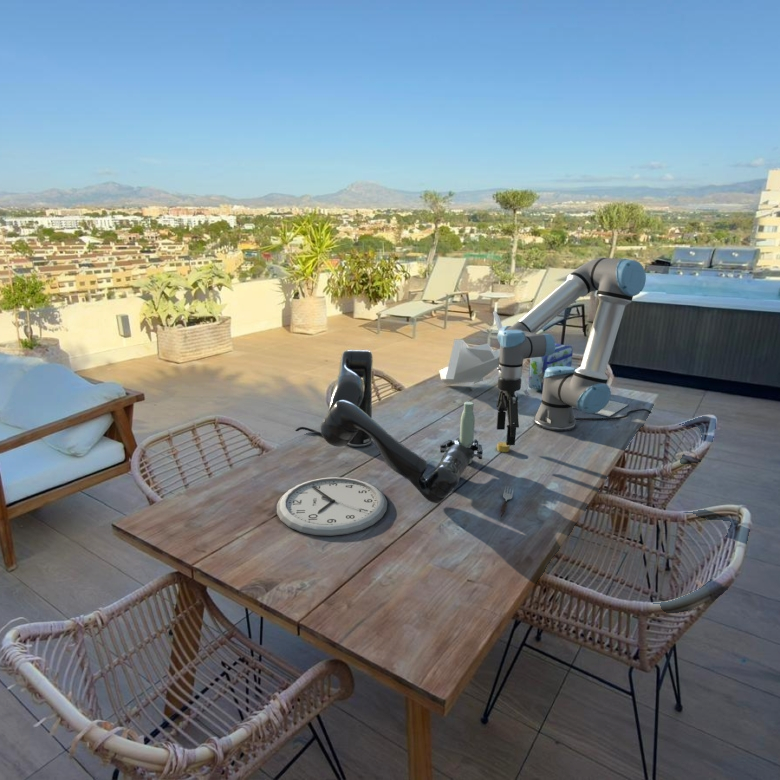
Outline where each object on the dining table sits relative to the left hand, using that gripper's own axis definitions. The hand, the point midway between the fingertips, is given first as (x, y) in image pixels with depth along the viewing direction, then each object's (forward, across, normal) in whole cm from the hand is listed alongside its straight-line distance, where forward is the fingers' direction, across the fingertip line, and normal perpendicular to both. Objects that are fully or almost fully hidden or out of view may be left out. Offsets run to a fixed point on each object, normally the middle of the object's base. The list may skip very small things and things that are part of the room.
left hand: (468, 440), depth 172 cm
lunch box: (+95, +18, -6) cm, 96 cm away
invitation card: (+75, +41, -6) cm, 86 cm away
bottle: (-3, 0, -6) cm, 7 cm away
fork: (-26, +17, -6) cm, 32 cm away
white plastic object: (+74, -12, -6) cm, 75 cm away
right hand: (+12, +10, -1) cm, 16 cm away
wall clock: (-45, -27, -6) cm, 53 cm away
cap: (+12, +10, -4) cm, 16 cm away
